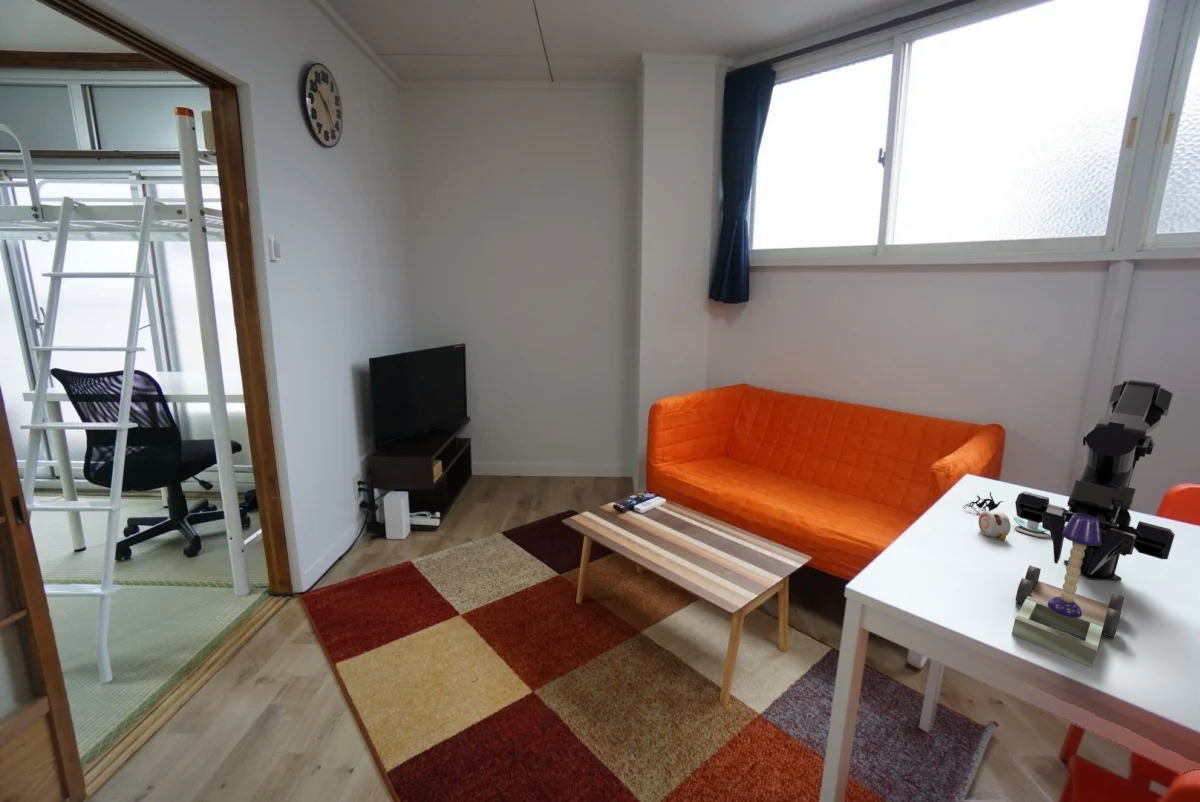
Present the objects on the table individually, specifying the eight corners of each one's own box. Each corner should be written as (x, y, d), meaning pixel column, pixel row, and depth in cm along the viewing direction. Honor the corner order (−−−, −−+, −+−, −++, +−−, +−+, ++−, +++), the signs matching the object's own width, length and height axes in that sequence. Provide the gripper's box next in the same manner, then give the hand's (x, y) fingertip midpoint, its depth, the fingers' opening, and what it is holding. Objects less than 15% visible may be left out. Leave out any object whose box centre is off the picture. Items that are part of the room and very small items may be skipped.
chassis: (1026, 582, 102) (1031, 562, 101) (1119, 614, 93) (1125, 592, 92) (999, 629, 88) (1005, 606, 87) (1106, 673, 78) (1113, 648, 77)
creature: (971, 521, 132) (1006, 518, 130) (969, 501, 131) (1005, 498, 129) (956, 508, 139) (990, 505, 137) (955, 489, 138) (989, 486, 136)
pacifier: (1050, 542, 119) (1051, 533, 124) (1056, 517, 118) (1057, 509, 122) (1010, 532, 124) (1012, 523, 129) (1016, 508, 123) (1018, 500, 127)
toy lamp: (1038, 604, 86) (1061, 512, 83) (1053, 597, 88) (1076, 507, 84) (1073, 621, 82) (1099, 525, 78) (1088, 613, 84) (1114, 520, 80)
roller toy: (994, 529, 125) (999, 507, 123) (1011, 542, 118) (1017, 519, 117) (974, 528, 125) (979, 506, 124) (991, 541, 119) (996, 518, 118)
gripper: (1029, 447, 89) (997, 523, 85) (1191, 480, 75) (1162, 574, 71) (1032, 479, 96) (1002, 551, 92) (1181, 515, 82) (1153, 603, 77)
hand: (1072, 567), depth 83 cm, fingers closed on toy lamp, 4 cm apart
